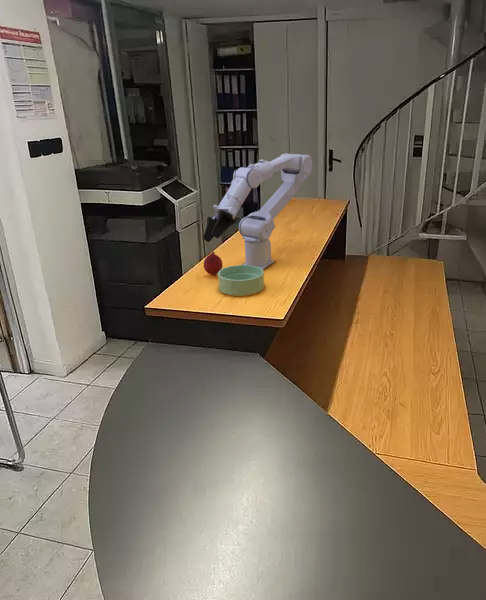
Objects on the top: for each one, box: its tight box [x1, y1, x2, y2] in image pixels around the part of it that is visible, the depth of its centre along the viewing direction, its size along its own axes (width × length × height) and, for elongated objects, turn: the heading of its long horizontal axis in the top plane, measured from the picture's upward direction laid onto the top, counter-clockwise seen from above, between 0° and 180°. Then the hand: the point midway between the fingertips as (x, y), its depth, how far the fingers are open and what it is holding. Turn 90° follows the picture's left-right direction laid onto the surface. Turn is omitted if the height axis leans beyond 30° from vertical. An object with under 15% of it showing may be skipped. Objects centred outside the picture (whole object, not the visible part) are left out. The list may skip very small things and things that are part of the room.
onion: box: [203, 250, 223, 277], centre depth 150 cm, size 6×6×8 cm
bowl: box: [217, 264, 265, 297], centre depth 141 cm, size 13×13×5 cm
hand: (210, 238), depth 140 cm, fingers open, 7 cm apart
